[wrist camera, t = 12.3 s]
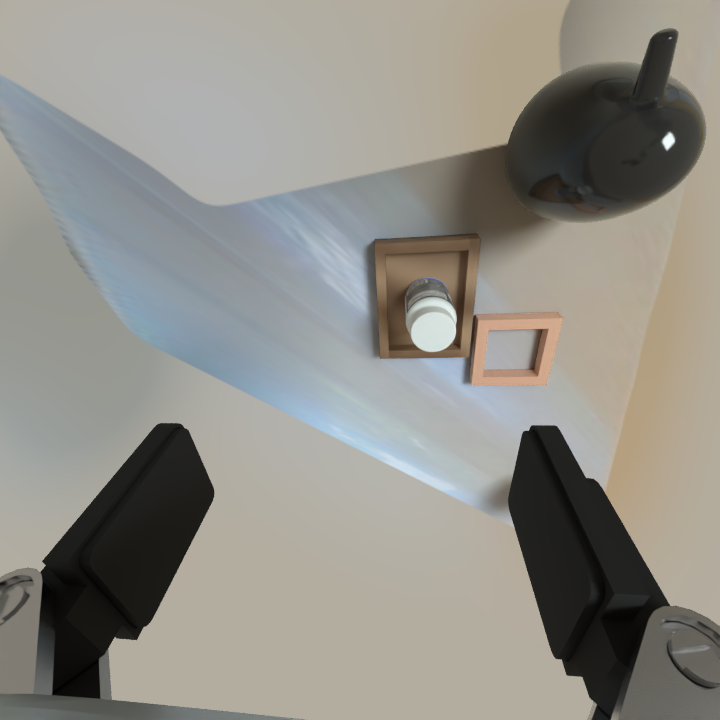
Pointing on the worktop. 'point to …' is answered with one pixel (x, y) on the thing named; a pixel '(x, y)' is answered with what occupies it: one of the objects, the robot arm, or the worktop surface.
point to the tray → (418, 260)
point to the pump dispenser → (606, 138)
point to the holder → (512, 322)
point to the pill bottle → (430, 314)
